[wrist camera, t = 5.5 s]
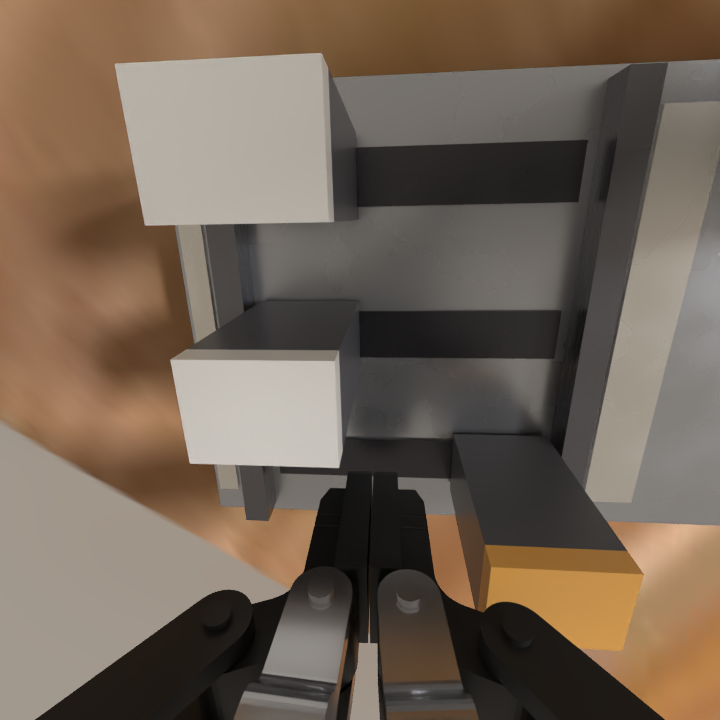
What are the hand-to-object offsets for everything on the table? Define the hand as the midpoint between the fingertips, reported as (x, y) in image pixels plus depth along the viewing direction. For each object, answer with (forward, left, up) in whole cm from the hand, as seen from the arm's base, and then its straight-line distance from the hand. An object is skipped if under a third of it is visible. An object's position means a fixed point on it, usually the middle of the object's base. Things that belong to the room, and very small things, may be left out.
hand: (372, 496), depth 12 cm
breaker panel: (-4, -5, -4) cm, 7 cm away
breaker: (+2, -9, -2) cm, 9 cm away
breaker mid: (+2, -5, -2) cm, 5 cm away
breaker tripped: (-4, 0, -2) cm, 5 cm away
